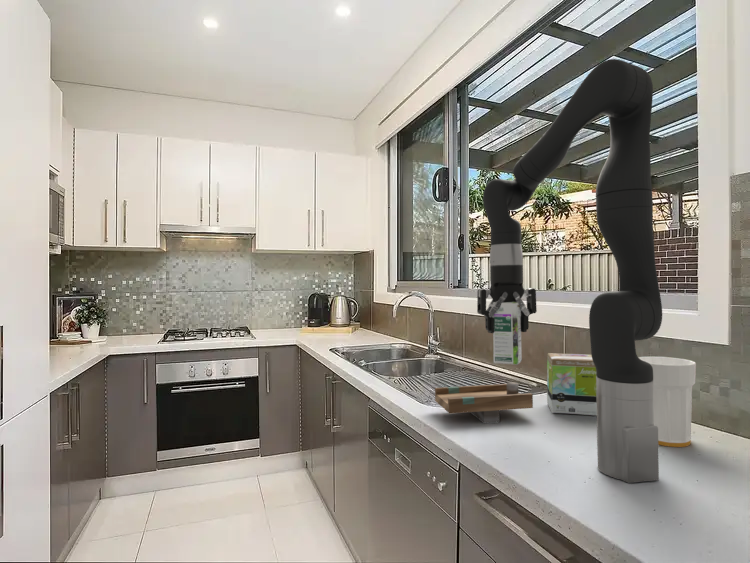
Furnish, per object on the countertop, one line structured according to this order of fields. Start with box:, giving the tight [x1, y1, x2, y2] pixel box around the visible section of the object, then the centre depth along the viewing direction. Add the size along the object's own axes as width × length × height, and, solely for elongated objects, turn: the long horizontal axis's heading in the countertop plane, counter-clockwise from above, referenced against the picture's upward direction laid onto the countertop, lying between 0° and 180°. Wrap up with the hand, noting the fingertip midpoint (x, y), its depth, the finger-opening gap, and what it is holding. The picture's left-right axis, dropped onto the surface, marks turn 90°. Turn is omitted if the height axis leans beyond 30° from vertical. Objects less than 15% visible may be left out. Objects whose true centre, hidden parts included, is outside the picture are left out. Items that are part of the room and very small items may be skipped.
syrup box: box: [492, 302, 523, 366], centre depth 109 cm, size 6×6×14 cm
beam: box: [434, 381, 534, 424], centre depth 120 cm, size 12×22×8 cm, turn 99°
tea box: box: [546, 352, 597, 417], centre depth 123 cm, size 15×10×15 cm, turn 76°
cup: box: [638, 355, 697, 448], centre depth 100 cm, size 11×11×17 cm
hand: (507, 332), depth 109 cm, fingers closed on syrup box, 7 cm apart
